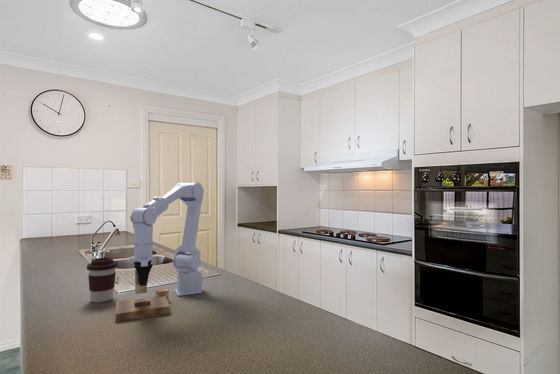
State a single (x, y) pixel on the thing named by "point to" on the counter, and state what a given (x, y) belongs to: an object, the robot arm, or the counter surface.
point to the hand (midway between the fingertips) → (142, 283)
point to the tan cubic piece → (163, 293)
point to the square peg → (139, 288)
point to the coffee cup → (101, 279)
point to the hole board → (142, 308)
